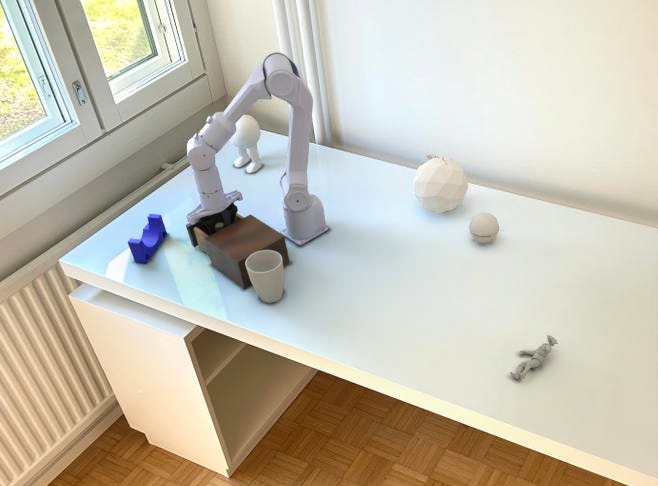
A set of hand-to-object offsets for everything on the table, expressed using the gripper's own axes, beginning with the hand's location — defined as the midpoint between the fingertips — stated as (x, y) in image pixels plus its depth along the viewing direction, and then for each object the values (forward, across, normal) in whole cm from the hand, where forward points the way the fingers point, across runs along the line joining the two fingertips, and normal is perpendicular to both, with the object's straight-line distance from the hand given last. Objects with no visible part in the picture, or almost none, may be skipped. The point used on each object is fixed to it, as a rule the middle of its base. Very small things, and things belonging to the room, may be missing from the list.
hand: (222, 235), depth 181 cm
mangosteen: (+1, 0, 0) cm, 1 cm away
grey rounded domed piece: (+3, -46, +47) cm, 66 cm away
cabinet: (+3, 0, +11) cm, 11 cm away
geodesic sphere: (+3, -49, +28) cm, 56 cm away
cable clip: (+3, +13, -14) cm, 20 cm away
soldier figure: (+3, -20, +82) cm, 84 cm away
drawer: (+2, 0, -2) cm, 3 cm away
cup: (+3, +4, +24) cm, 24 cm away
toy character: (+3, -28, -27) cm, 39 cm away
